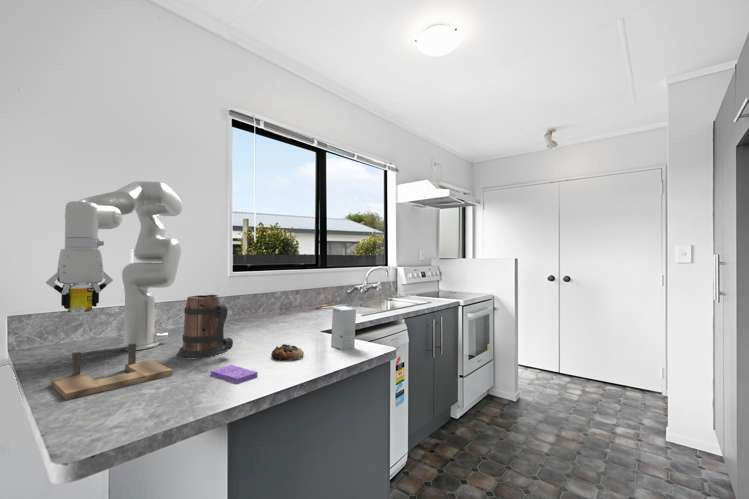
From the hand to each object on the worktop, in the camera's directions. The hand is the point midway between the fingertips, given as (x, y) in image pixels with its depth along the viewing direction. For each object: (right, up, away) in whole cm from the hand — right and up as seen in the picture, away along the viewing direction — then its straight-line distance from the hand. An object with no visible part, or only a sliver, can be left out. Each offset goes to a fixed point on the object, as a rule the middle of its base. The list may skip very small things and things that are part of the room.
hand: (80, 306), depth 106 cm
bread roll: (+55, -21, +20) cm, 62 cm away
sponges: (+44, -20, 0) cm, 49 cm away
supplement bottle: (0, -2, 0) cm, 2 cm away
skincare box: (+73, -21, +33) cm, 83 cm away
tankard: (+26, -20, +23) cm, 41 cm away
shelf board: (+13, -20, -4) cm, 24 cm away
